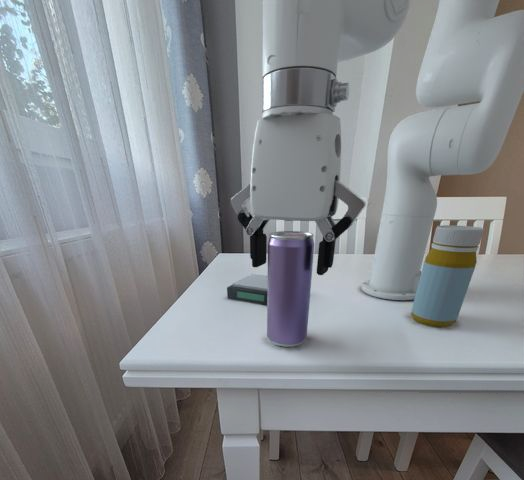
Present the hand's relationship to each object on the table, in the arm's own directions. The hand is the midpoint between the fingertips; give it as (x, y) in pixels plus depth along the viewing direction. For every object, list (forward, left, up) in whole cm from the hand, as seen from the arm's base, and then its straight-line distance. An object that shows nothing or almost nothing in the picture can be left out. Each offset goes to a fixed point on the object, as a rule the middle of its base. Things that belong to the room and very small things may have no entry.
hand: (289, 268), depth 39 cm
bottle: (-20, -18, -11) cm, 29 cm away
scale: (+12, -17, -11) cm, 24 cm away
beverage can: (0, 0, -11) cm, 11 cm away
